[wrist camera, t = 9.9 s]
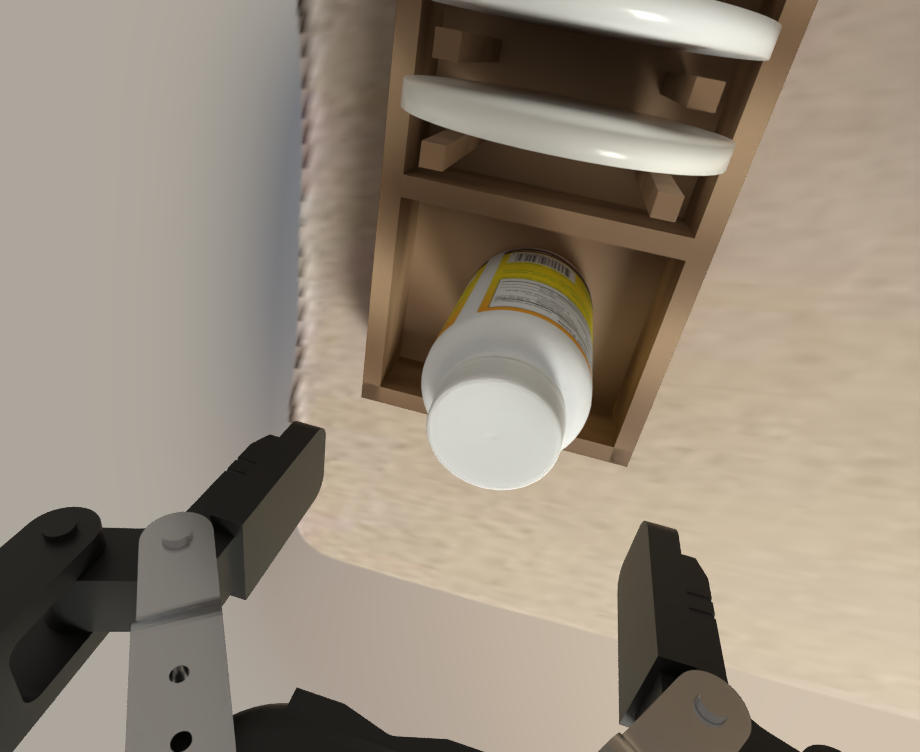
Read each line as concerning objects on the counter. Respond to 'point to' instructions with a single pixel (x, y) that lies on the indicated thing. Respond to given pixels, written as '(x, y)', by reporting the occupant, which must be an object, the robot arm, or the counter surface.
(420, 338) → the rack
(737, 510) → the counter surface
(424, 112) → the plate
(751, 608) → the counter surface
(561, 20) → the plate
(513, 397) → the supplement bottle
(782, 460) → the counter surface
